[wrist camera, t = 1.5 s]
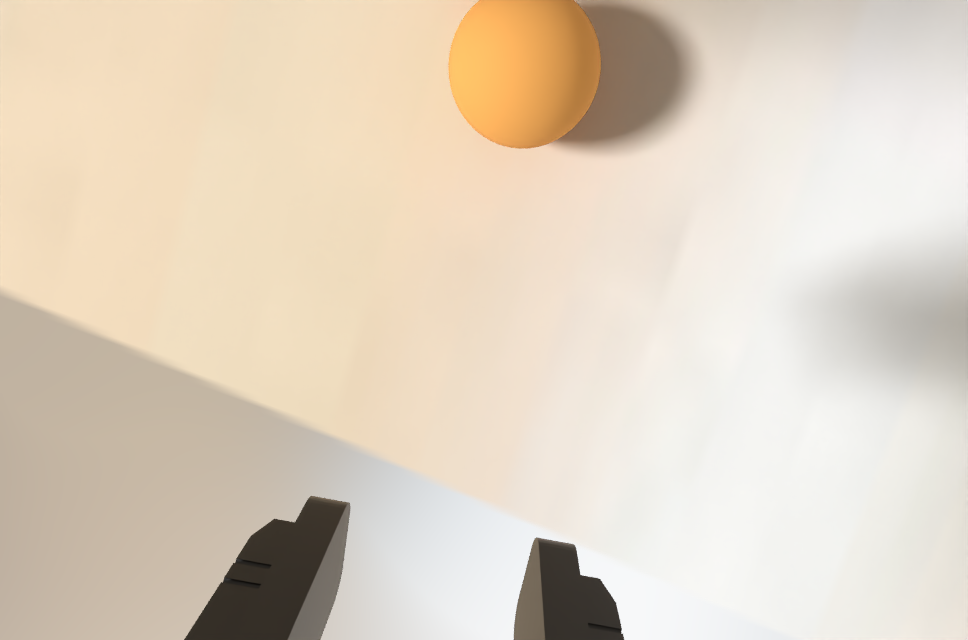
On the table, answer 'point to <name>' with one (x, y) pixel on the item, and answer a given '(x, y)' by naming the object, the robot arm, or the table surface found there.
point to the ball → (524, 69)
